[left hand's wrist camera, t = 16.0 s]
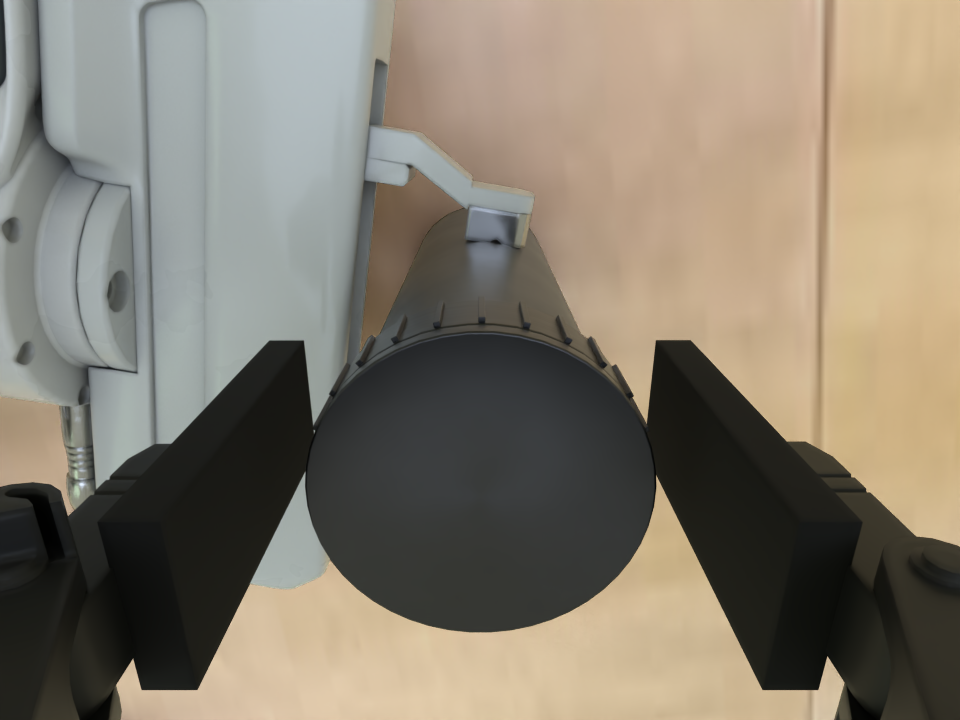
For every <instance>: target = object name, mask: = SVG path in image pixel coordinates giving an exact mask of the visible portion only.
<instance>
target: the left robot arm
mask: <svg viewBox="0 0 960 720" xmlns="http://www.w3.org/2000/svg"><path fill="white" fill-rule="evenodd" d="M647 425H648V428H649V432H647V435H648V437H649V440H650V443H651V446H652V450H653V455H654V461H655V466H656V475H657V477H658V479H659V481H660V483H661V485H662V487H663V489H664V492H665V494H666V496H667V498H668V500H669V502H670V504H671V506H672V508H673V510H674V512H675V514H676V516H677V518H678V520H679V522H680V524H681V526H682V528H683V530H684V532H685V534H686V536H687V538H688V540H689V542H690V544H691V546H692V548H693V550H694V552H695V554H696V556H697V558H698V560H699V562H700V564H701V566H702V568H703V570H704V572H705V574H706V576H707V578H708V581H709V583H710V585H711V587H712V589H713V591H714V593H715V595H716V597H717V599H718V601H719V603H720V605H721V607H722V609H723V611H724V613H725V615H726V617H727V619H728V621H729V623H730V625H731V627H732V629H733V631H734V633H735V635H736V637H737V639H738V641H739V643H740V645H741V647H742V649H743V651H744V653H745V655H746V657H747V659H748V661H749V663H750V665H751V668H752V670H753V672H754V674H755V676H756V678H757V680H758V682H759V684H760V686H761V688H762V690H818V689H819V685H820V682H821V678H822V674H823V670H824V667H825V663H826V659H827V656H828V657H829V659H830V660H831V662H832V664H833V665H834V667H835V668H836V670H837V671H838V673H839V674H840V676H841V678H842V679H843V681H844V682H845V684H844V687H843V691H842V694H841V698H840V701H839V705H838V708H837V712H836V715H835V719H834V720H960V547H959V546H957V545H953V544H950V543H947V542H943V541H940V540H936V539H933V538H924V537H916V536H915V535H914V534H913V533H912V532H911V531H910V530H909V529H908V528H907V527H906V526H905V525H903V524H902V523H901V522H900V521H899V520H898V519H897V518H896V517H895V516H894V515H893V514H892V513H891V512H890V511H889V510H888V509H887V508H886V507H885V506H884V505H883V504H882V503H881V502H880V501H878V500H877V499H876V498H875V497H874V496H873V495H872V494H871V493H867V492H866V488H865V487H864V486H863V485H862V484H861V483H860V482H859V481H858V480H857V479H856V478H851V474H850V473H849V472H848V471H847V470H846V469H845V468H844V467H843V466H842V465H841V464H840V463H839V462H838V461H837V460H836V459H835V458H834V457H833V456H831V455H829V454H827V453H825V452H823V451H822V450H820V449H818V448H816V447H814V446H812V445H811V444H809V443H807V442H787V441H786V440H785V439H784V438H783V437H782V436H781V435H780V434H779V433H778V432H777V431H776V430H775V429H774V428H773V427H772V426H771V425H770V424H769V422H768V421H767V420H766V419H765V418H764V417H763V416H762V415H761V414H760V413H759V412H758V411H757V410H756V409H755V408H754V407H753V406H752V405H751V403H750V402H749V401H748V400H747V399H746V398H745V397H744V396H743V395H742V394H741V393H740V392H739V391H738V390H737V389H736V388H735V387H734V386H733V385H732V383H731V382H730V381H729V380H728V379H727V378H726V377H725V376H724V375H723V374H722V373H721V372H720V371H719V370H718V369H717V368H716V367H715V366H714V364H713V363H712V362H711V361H710V360H709V359H708V358H707V357H706V356H705V355H704V354H703V353H702V352H701V351H700V350H699V349H698V348H697V347H696V345H695V344H694V343H693V342H692V341H691V340H656V345H655V354H654V363H653V372H652V382H651V391H650V400H649V409H648V418H647ZM313 436H314V430H313V418H312V409H311V400H310V391H309V382H308V372H307V363H306V354H305V345H304V340H269V341H268V342H267V343H266V344H265V345H264V347H263V348H262V349H261V350H260V351H259V352H258V353H257V354H256V355H255V356H254V357H253V358H252V359H251V360H250V361H249V362H248V363H247V364H246V366H245V367H244V368H243V369H242V370H241V371H240V372H239V373H238V374H237V375H236V376H235V377H234V378H233V379H232V380H231V381H230V382H229V383H228V385H227V386H226V387H225V388H224V389H223V390H222V391H221V392H220V393H219V394H218V395H217V396H216V397H215V398H214V399H213V400H212V401H211V402H210V403H209V405H208V406H207V407H206V408H205V409H204V410H203V411H202V412H201V413H200V414H199V415H198V416H197V417H196V418H195V419H194V420H193V421H192V422H191V424H190V425H189V426H188V427H187V428H186V429H185V430H184V431H183V432H182V433H181V434H180V435H179V436H178V437H177V438H176V439H175V440H174V441H173V443H172V444H154V445H152V446H150V447H148V448H146V449H145V450H143V451H141V452H139V453H137V454H136V455H134V456H132V457H130V458H128V459H127V460H126V461H125V462H124V463H123V464H122V465H121V466H120V467H119V468H118V469H117V470H116V471H115V472H114V473H113V474H112V475H110V479H109V480H105V481H104V482H103V483H102V484H101V485H100V486H99V487H98V488H97V489H96V490H95V491H94V495H90V496H89V497H88V498H87V499H86V500H85V501H84V502H83V503H82V504H80V505H79V506H78V507H77V508H76V509H75V510H74V511H73V512H72V513H71V514H70V515H69V516H68V515H67V512H66V508H65V505H64V501H63V498H62V494H61V491H60V490H58V489H57V488H55V487H54V486H52V485H50V484H42V483H34V482H32V483H22V484H11V485H7V486H3V487H0V720H120V719H121V712H122V711H121V704H120V698H119V694H118V691H117V687H116V684H117V682H118V681H119V679H120V678H121V676H122V675H123V673H124V672H125V670H126V668H127V667H128V665H129V664H130V662H131V661H132V659H134V663H135V667H136V670H137V674H138V678H139V682H140V685H141V689H142V690H198V688H199V686H200V684H201V682H202V680H203V678H204V676H205V674H206V672H207V670H208V668H209V665H210V663H211V661H212V659H213V657H214V655H215V653H216V651H217V649H218V647H219V645H220V643H221V641H222V639H223V637H224V635H225V633H226V631H227V629H228V627H229V625H230V623H231V621H232V619H233V617H234V615H235V613H236V611H237V609H238V607H239V605H240V603H241V601H242V599H243V597H244V595H245V593H246V591H247V589H248V587H249V585H250V583H251V581H252V578H253V576H254V574H255V572H256V570H257V568H258V566H259V564H260V562H261V560H262V558H263V556H264V554H265V552H266V550H267V548H268V546H269V544H270V542H271V540H272V538H273V536H274V534H275V532H276V530H277V528H278V526H279V524H280V522H281V520H282V518H283V516H284V514H285V512H286V510H287V508H288V506H289V504H290V502H291V500H292V498H293V496H294V494H295V491H296V489H297V487H298V485H299V483H300V481H301V479H302V477H303V475H304V473H305V471H306V462H307V457H308V452H309V447H310V444H311V441H312V438H313Z"/></svg>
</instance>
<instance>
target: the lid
mask: <svg viewBox="0 0 960 720" xmlns="http://www.w3.org/2000/svg"><path fill="white" fill-rule="evenodd" d="M329 395H330V396H329V397H328V399H327V401H326V403H325V405H324V407H323V408H322V410H321V412H320V414H319V416H318V418H317V420H316V421H315V423H314V425H313V430H315V433H314V436H313V438H312V441H311V444H310V447H309V452H308V457H307V462H306V471H305V491H306V500H307V507H308V511H309V514H310V518H311V522H312V525H313V528H314V530H315V532H316V535H317V537H318V539H319V542H320V544H321V545H322V547H323V549H324V550H325V552H326V554H327V555H328V557H329V558H330V560H331V561H332V563H333V564H334V565H335V566H336V568H337V569H338V570H339V571H340V572H341V574H342V575H343V576H344V577H345V578H346V579H347V580H348V581H349V582H350V583H351V584H352V585H353V586H354V587H356V588H357V589H358V590H359V591H360V592H362V593H363V594H364V595H366V596H367V597H368V598H370V599H371V600H372V601H374V602H376V603H377V604H379V605H381V606H382V607H384V608H386V609H388V610H389V611H391V612H393V613H396V614H398V615H400V616H402V617H405V618H407V619H409V620H412V621H415V622H418V623H422V624H425V625H428V626H432V627H437V628H441V629H446V630H453V631H463V632H499V631H509V630H515V629H520V628H525V627H529V626H533V625H536V624H540V623H543V622H546V621H549V620H552V619H554V618H557V617H559V616H561V615H563V614H566V613H568V612H570V611H572V610H574V609H575V608H577V607H579V606H581V605H582V604H584V603H586V602H587V601H589V600H590V599H591V598H593V597H594V596H595V595H597V594H598V593H600V592H601V591H602V590H604V589H605V588H606V587H607V586H608V585H609V584H610V583H611V582H612V581H613V580H614V579H615V578H616V577H617V576H618V575H619V574H620V573H621V571H622V570H623V569H624V568H625V567H626V565H627V564H628V563H629V562H630V560H631V559H632V557H633V556H634V554H635V552H636V551H637V549H638V547H639V546H640V544H641V542H642V540H643V537H644V535H645V533H646V531H647V528H648V526H649V522H650V519H651V515H652V512H653V508H654V502H655V494H656V466H655V461H654V455H653V450H652V446H651V443H650V440H649V437H648V435H647V432H649V428H648V425H647V424H646V422H645V420H644V418H643V416H642V414H641V413H640V411H639V409H638V407H637V405H636V403H635V402H634V400H633V398H632V397H633V396H634V395H633V393H632V392H631V390H630V388H629V386H628V384H627V383H626V381H625V379H624V377H623V375H622V374H621V372H620V370H619V368H618V367H617V365H616V364H615V365H614V366H611V365H610V363H609V362H608V361H607V359H606V358H605V357H604V355H603V354H602V353H601V351H600V349H599V347H598V345H597V343H596V341H595V339H594V338H592V337H590V338H589V339H587V338H586V337H584V336H583V335H582V334H580V333H579V332H578V331H577V330H575V329H574V328H573V327H571V326H569V325H568V324H566V323H565V320H564V318H563V317H562V316H560V315H558V316H557V317H556V318H555V317H553V316H551V315H548V314H546V313H543V312H541V311H538V310H536V309H533V308H529V307H527V306H526V302H523V301H520V302H519V305H518V304H514V303H507V302H499V301H485V297H484V296H479V301H462V302H454V303H447V304H444V301H443V300H442V301H438V303H437V306H436V307H432V308H428V309H425V310H423V311H420V312H418V313H415V314H413V315H410V316H408V317H407V316H406V314H403V315H401V316H400V317H399V319H398V322H397V323H395V324H394V325H392V326H390V327H389V328H387V329H386V330H385V331H383V332H382V333H381V334H379V335H378V336H377V337H374V336H373V335H371V336H370V337H369V338H368V339H367V341H366V343H365V345H364V347H363V349H362V351H361V352H360V353H359V354H358V356H357V357H356V358H355V360H354V361H353V362H352V364H351V365H350V364H348V363H346V364H345V365H344V367H343V369H342V371H341V372H340V374H339V376H338V378H337V380H336V382H335V383H334V385H333V387H332V389H331V391H330V393H329Z"/></svg>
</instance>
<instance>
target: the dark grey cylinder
mask: <svg viewBox="0 0 960 720" xmlns="http://www.w3.org/2000/svg"><path fill="white" fill-rule="evenodd" d="M468 209H469V207H468ZM468 209H467V210H466V209H465V208H463V209H460V210H457V211H454V212H452V213H450V214H448V215H447V216H445V217H444V218H442V219H441V220H439V221H438V222H437V223H436V224H435V225H434V226H433V227H432V228H431V230H430V231H429V232H428V233H427V235H426V237H425V238H424V240H423V242H422V244H421V246H420V248H419V251H418V253H417V255H416V257H415V259H414V261H413V263H412V266H411V268H410V270H409V272H408V274H407V276H406V279H405V281H404V283H403V285H402V287H401V289H400V292H399V294H398V296H397V298H396V300H395V302H394V304H393V307H392V309H391V311H390V313H389V315H388V317H387V320H386V322H385V324H384V326H383V328H382V330H381V332H380V334H381V333H382V332H383V331H385V330H386V329H387V328H389V327H390V326H392V325H394V324H395V323H397V322H398V319H399V317H400V316H401V315H403V314H406V316H407V317H408V316H410V315H413V314H415V313H418V312H420V311H423V310H425V309H428V308H432V307H436V306H437V303H438V301H442V300H443V301H444V304H447V303H454V302H462V301H479V296H484V297H485V301H499V302H507V303H514V304H518V305H519V302H520V301H523V302H526V306H527V307H529V308H533V309H536V310H538V311H541V312H543V313H546V314H548V315H551V316H553V317H555V318H556V317H557V316H558V315H560V316H562V317H563V318H564V320H565V323H566V324H568V325H569V326H571V327H573V328H574V329H575V330H577V331H578V332H579V333H580V331H579V328H578V326H577V324H576V322H575V320H574V318H573V316H572V313H571V311H570V309H569V307H568V305H567V303H566V301H565V299H564V296H563V294H562V292H561V290H560V288H559V286H558V284H557V281H556V279H555V277H554V275H553V273H552V271H551V269H550V266H549V264H548V262H547V260H546V258H545V256H544V254H543V251H542V249H541V247H540V245H539V243H538V241H537V239H536V237H535V236H534V234H533V233H532V231H531V230H530V229H528V234H527V239H526V243H525V247H522V248H516V247H509V246H506V245H503V244H501V243H500V242H499V241H498V240H497V239H495V240H493V241H491V242H478V241H472V240H467V239H465V231H466V224H467V217H468ZM580 334H581V333H580Z"/></svg>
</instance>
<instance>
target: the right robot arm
mask: <svg viewBox="0 0 960 720" xmlns="http://www.w3.org/2000/svg"><path fill="white" fill-rule="evenodd" d="M395 5H396V0H0V397H5V398H12V399H19V400H26V401H33V402H40V403H46V404H53V405H59V409H60V420H61V431H62V437H63V443H64V446H65V449H66V454H67V460H68V473H67V476H66V489H67V495H68V498H69V501H70V504H71V506H72V508H73V509H74V510H75V509H76V508H77V507H78V506H79V505H80V504H82V503H83V502H84V501H85V500H86V499H87V498H88V497H89V496H90V495H94V491H95V490H96V489H97V488H98V487H99V486H100V485H101V484H102V483H103V482H104V481H105V480H109V479H110V475H112V474H113V473H114V472H115V471H116V470H117V469H118V468H119V467H120V466H121V465H122V464H123V463H124V462H125V461H126V460H127V459H128V458H130V457H132V456H134V455H136V454H137V453H139V452H141V451H143V450H145V449H146V448H148V447H150V446H152V445H154V444H172V443H173V441H174V440H175V439H176V438H177V437H178V436H179V435H180V434H181V433H182V432H183V431H184V430H185V429H186V428H187V427H188V426H189V425H190V424H191V422H192V421H193V420H194V419H195V418H196V417H197V416H198V415H199V414H200V413H201V412H202V411H203V410H204V409H205V408H206V407H207V406H208V405H209V403H210V402H211V401H212V400H213V399H214V398H215V397H216V396H217V395H218V394H219V393H220V392H221V391H222V390H223V389H224V388H225V387H226V386H227V385H228V383H229V382H230V381H231V380H232V379H233V378H234V377H235V376H236V375H237V374H238V373H239V372H240V371H241V370H242V369H243V368H244V367H245V366H246V364H247V363H248V362H249V361H250V360H251V359H252V358H253V357H254V356H255V355H256V354H257V353H258V352H259V351H260V350H261V349H262V348H263V347H264V345H265V344H266V343H267V342H268V341H269V340H304V345H305V354H306V363H307V372H308V382H309V391H310V400H311V409H312V418H313V425H314V423H315V421H316V420H317V418H318V416H319V414H320V412H321V410H322V408H323V407H324V405H325V403H326V401H327V399H328V397H329V396H330V395H329V393H330V391H331V389H332V387H333V385H334V383H335V382H336V380H337V378H338V376H339V374H340V372H341V371H342V369H343V367H344V365H345V364H346V363H348V364H350V365H351V364H352V362H353V361H354V360H355V358H356V357H357V356H358V354H359V353H360V347H361V337H362V327H363V318H364V308H365V298H366V288H367V279H368V269H369V259H370V249H371V239H372V230H373V220H374V210H375V200H376V191H377V182H378V183H385V184H391V185H397V186H404V185H405V184H407V183H408V182H409V181H410V180H411V179H412V178H414V177H415V173H416V169H417V170H418V171H419V172H421V173H422V174H423V175H424V176H426V177H427V178H428V179H429V180H430V181H432V182H433V183H434V184H435V185H437V186H438V187H439V188H440V189H442V190H443V191H444V192H445V193H447V194H448V195H449V196H450V197H452V198H453V199H454V200H455V201H456V202H458V203H459V204H460V205H461V206H463V207H464V208H465V209H466V210H467V209H468V206H469V209H468V217H467V224H466V231H465V239H467V240H472V241H478V242H491V241H493V240H495V239H497V240H498V241H499V242H500V243H501V244H503V245H506V246H509V247H516V248H522V247H525V243H526V239H527V234H528V229H529V224H530V220H531V215H532V209H533V204H534V199H535V196H534V194H533V193H532V192H530V191H526V190H523V189H519V188H513V187H507V186H501V185H496V184H490V183H484V182H478V181H473V176H472V175H471V174H470V173H469V172H467V171H466V170H465V169H464V168H463V167H462V166H460V165H459V164H458V163H457V162H456V161H455V160H453V159H452V158H451V157H450V156H449V155H447V154H446V153H445V152H444V151H443V150H442V149H440V148H439V147H438V146H437V145H436V144H435V143H433V142H432V141H431V140H430V139H429V138H427V137H426V136H425V135H424V134H423V133H422V132H417V131H412V130H406V129H400V128H395V127H389V126H383V122H384V112H385V103H386V93H387V83H388V73H389V64H390V54H391V44H392V34H393V24H394V15H395ZM314 433H315V430H314ZM329 561H330V558H329V557H328V555H327V554H326V552H325V550H324V549H323V547H322V545H321V544H320V542H319V539H318V537H317V535H316V532H315V530H314V528H313V525H312V522H311V518H310V514H309V511H308V507H307V500H306V491H305V473H304V475H303V477H302V479H301V481H300V483H299V485H298V487H297V489H296V491H295V494H294V496H293V498H292V500H291V502H290V504H289V506H288V508H287V510H286V512H285V514H284V516H283V518H282V520H281V522H280V524H279V526H278V528H277V530H276V532H275V534H274V536H273V538H272V540H271V542H270V544H269V546H268V548H267V550H266V552H265V554H264V556H263V558H262V560H261V562H260V564H259V566H258V568H257V570H256V572H255V574H254V576H253V578H252V581H251V583H250V584H253V585H258V586H264V587H270V588H276V589H294V588H297V587H299V586H301V585H304V584H306V583H308V582H311V581H313V580H315V579H317V578H319V577H321V576H322V575H323V574H324V573H325V571H326V569H327V567H328V564H329Z"/></svg>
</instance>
